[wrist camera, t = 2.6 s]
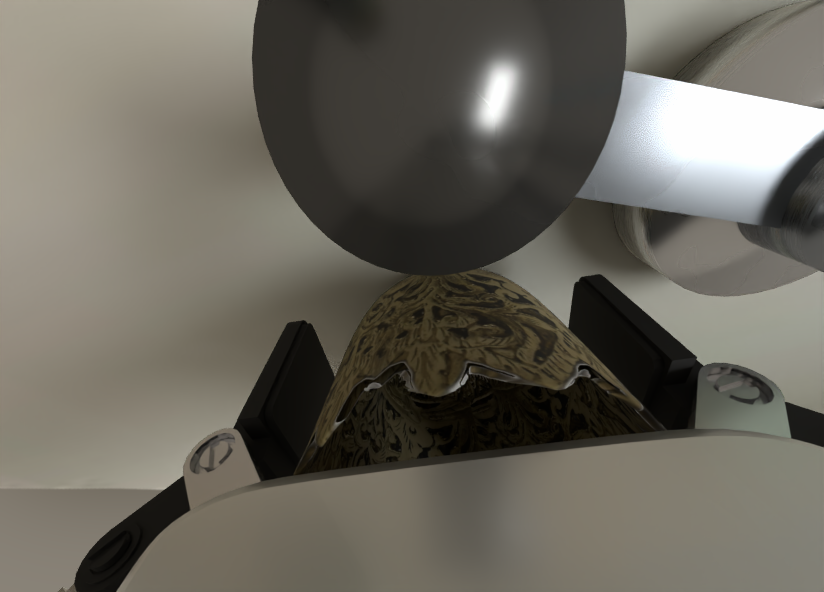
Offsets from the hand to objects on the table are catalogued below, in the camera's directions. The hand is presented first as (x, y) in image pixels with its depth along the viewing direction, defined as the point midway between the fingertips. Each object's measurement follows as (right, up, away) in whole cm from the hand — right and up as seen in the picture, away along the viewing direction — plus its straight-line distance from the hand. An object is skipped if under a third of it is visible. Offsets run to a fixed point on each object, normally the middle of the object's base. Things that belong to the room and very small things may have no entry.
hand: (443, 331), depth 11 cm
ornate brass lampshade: (0, +1, +2) cm, 2 cm away
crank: (+5, +5, -3) cm, 8 cm away
